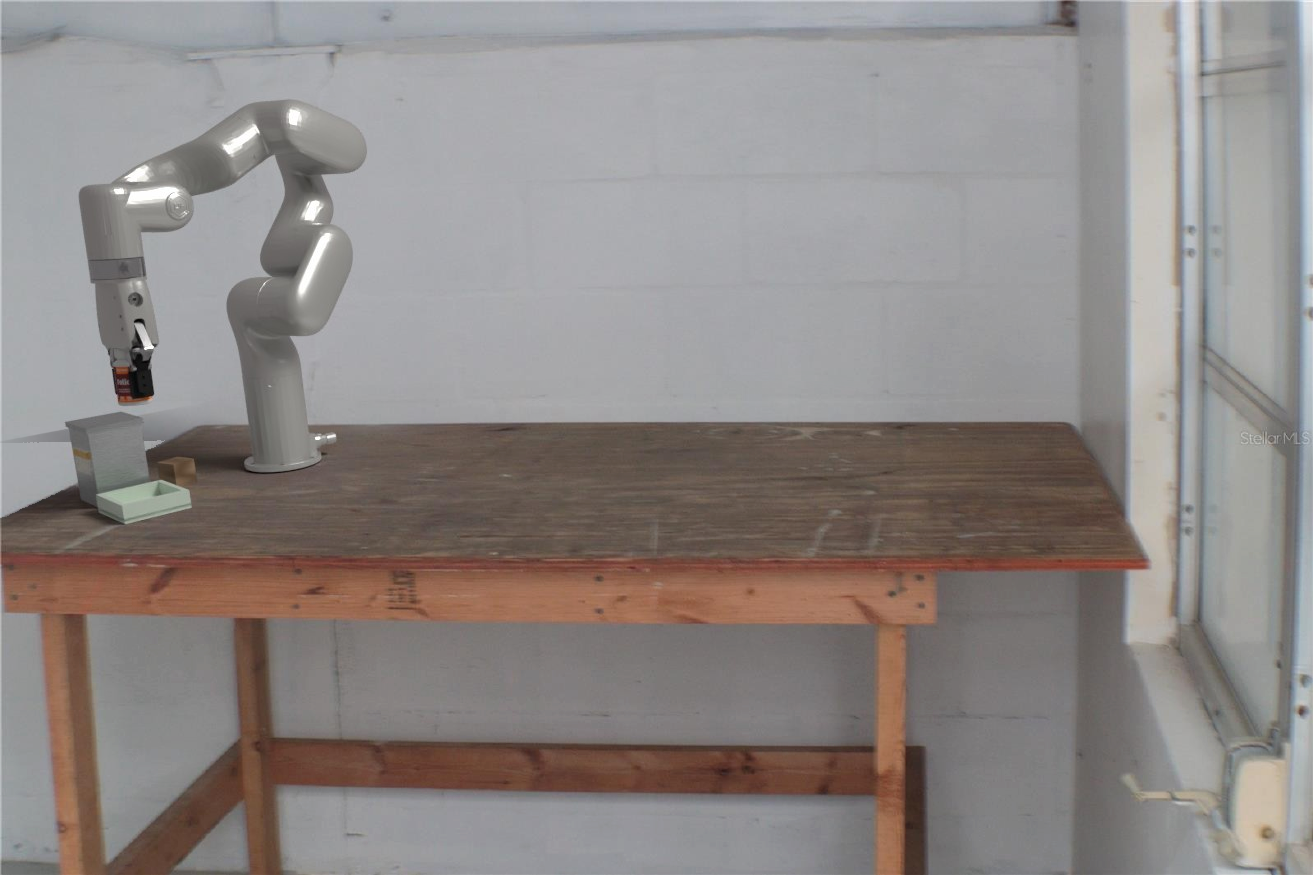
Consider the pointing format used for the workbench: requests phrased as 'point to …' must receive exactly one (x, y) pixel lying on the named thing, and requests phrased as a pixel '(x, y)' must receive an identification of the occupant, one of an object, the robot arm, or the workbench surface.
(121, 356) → the pill bottle
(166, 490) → the tray
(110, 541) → the workbench surface
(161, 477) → the walnut block
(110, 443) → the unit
